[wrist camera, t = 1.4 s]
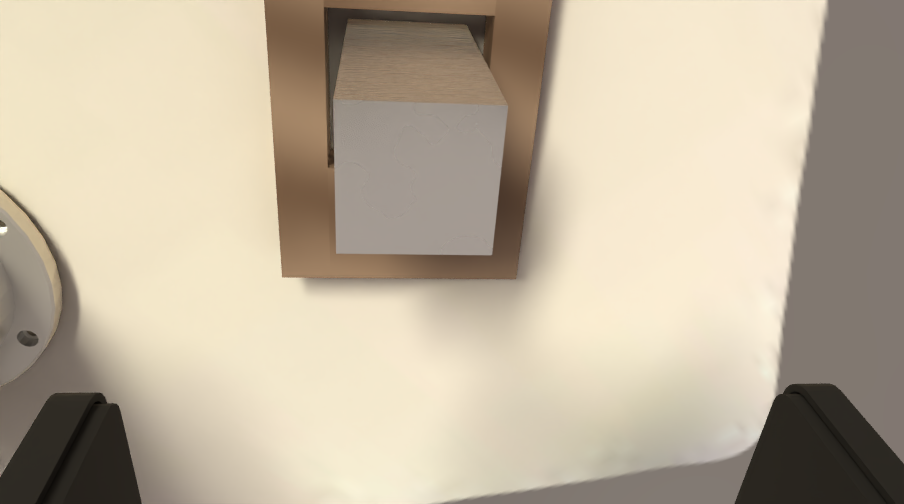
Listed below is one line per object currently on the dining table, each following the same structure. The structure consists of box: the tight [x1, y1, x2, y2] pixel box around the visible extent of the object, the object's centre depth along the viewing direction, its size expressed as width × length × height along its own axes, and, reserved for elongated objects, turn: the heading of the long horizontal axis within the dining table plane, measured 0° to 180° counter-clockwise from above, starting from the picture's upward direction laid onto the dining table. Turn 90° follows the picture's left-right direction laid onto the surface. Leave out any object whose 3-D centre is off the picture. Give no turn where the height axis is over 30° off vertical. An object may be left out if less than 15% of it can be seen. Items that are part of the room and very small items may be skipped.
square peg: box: [333, 19, 508, 255], centre depth 23 cm, size 4×4×10 cm
